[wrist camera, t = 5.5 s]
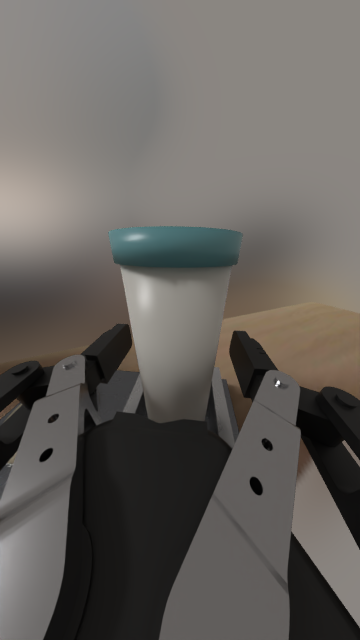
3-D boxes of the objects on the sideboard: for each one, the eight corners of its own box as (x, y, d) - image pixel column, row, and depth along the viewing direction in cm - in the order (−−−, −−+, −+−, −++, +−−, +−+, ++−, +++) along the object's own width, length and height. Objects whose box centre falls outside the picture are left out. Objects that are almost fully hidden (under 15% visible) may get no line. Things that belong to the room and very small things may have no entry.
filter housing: (-69, 501, 10) (-152, 475, 8) (65, 372, 21) (50, 344, 18) (263, 564, 8) (302, 558, 6) (224, 386, 19) (231, 357, 16)
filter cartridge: (140, 460, 11) (67, 226, 4) (156, 397, 16) (139, 240, 8) (206, 469, 11) (273, 226, 3) (202, 401, 15) (226, 240, 8)
